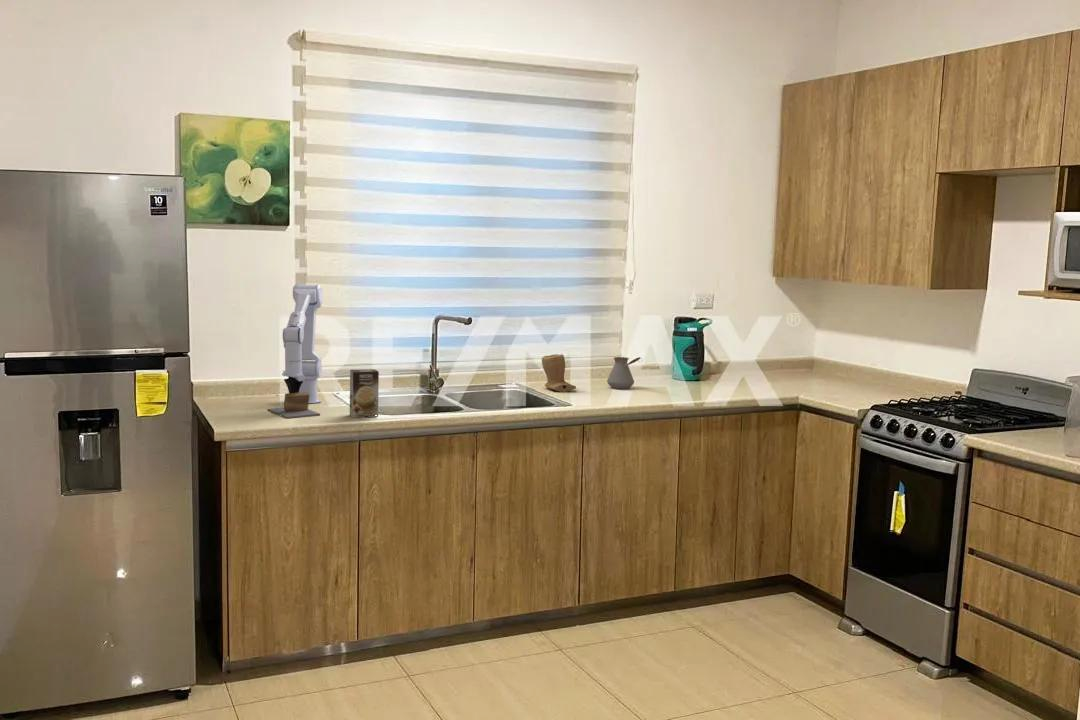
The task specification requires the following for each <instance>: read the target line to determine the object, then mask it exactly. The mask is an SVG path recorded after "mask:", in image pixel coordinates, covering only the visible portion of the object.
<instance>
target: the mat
mask: <svg viewBox="0 0 1080 720" xmlns="http://www.w3.org/2000/svg"><path fill="white" fill-rule="evenodd" d="M267 411H268V412H270V411H271V412H270V413H273V414H275V413H276V414H275V415H278V416H280V415H281V417H282V416H283V418H285V419H287V418H289V419H296V418H307V417H318V416H321V413H319V412H317V411H315V410H312V409H309V408H308V410H303V411H293V412H286V411H285V410H284V406H283V407H272V408H267Z"/></svg>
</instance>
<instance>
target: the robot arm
mask: <svg viewBox="0 0 1080 720" xmlns="http://www.w3.org/2000/svg"><path fill="white" fill-rule="evenodd" d="M292 299H293V300H294V303H295V306H294V307H295V308H294V311H293V312H291V313H290V315H289V318H288V322H287V325H286V327H285V328H283V329H282V342H283V348H284V366H285V368H284V370H282V374H281V376H283V377H288V378H284V379H283V381H284V383H285V385H286V388H287V390H288V393H299V392H307V393H308V394H309V402H308V405H309V404H319V403H322V400H319V399H318V398H319V397H318V394H319V393H318V379H319V378H320V377H322V373H323V371H322V370H323V366H322V358H321V357H320V356H319V355H318V354H317V353H315V343H316V342H315V341H316V340H315V339H316V317H317V310H318V309H319V308H322V303H323V302H322V301H323V289H322V286H321V285H320V284H297V283H296V284H294V285H293V287H292Z"/></svg>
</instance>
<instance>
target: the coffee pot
mask: <svg viewBox="0 0 1080 720" xmlns="http://www.w3.org/2000/svg"><path fill="white" fill-rule="evenodd" d="M629 359H630V358H629V357H626V356H616V357H613V360H614V365H613V366H612V369H611V371H610V374H609V375H608V377H607V380H606V382H607V384H608V386H610V387H611V389H614V390H629V389H630V388H631V387H632V386H633V385H634V383H635V379H634V377H633V374H632V373H631V370H630V365H632V364H633V363H636V362H638V363H642V362H643V358H642V357H636V358H634V359H632V360H631V361H629V362H628V360H629ZM640 359H641V361H639V360H640Z"/></svg>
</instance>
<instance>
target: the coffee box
mask: <svg viewBox="0 0 1080 720" xmlns="http://www.w3.org/2000/svg"><path fill="white" fill-rule="evenodd" d="M379 375H380V372H379V370H377V369H372V368H371V369H367V368H366V369H350V370H349V415H350V416H351V417H352V418H365V417H364V416H375V415H377V417H379V386H380V385H379V382H380V381H379V378H380V376H379Z"/></svg>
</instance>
